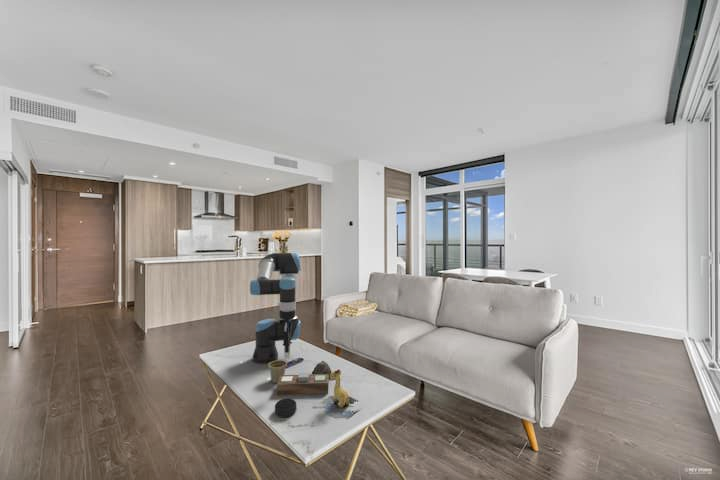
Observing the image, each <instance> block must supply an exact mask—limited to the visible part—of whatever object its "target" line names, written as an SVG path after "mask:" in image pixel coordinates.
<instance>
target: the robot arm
mask: <svg viewBox="0 0 720 480" xmlns="http://www.w3.org/2000/svg"><path fill="white" fill-rule="evenodd" d="M300 271H301V262H300V255H299V254H298V253H296V252H273V253H268V254H267V255H265V256H264V257H262V258H261V259H260V260H259V263H258V272H257V277H256V279H252V280H251V281H250V283H249V292H250V294H251V295H253V296H262V295H264V296H268V295H279V302H278V305H279V318H278V320H277V321H276V319H275V318H266V319H262V320H259V321H258V322H256V324H255V331H254V332H255V346H254V347H255V348H254V351H253V354H252V357H251V358H252V359H251V360H252V362H254V363H256V364H269V363H270V362H272V361H276V360H279V352H278V349H277V344H276V342H281V341H282V343H283V344H282V346H283V348H284V349H283V353H284V355H283V359H284V360H285V359H287V360H288V359H291V344H293V342H292V341H294V340H297V339H299V336H300V329H301V320H300V319H299V317H298V316H297V314H296V313H297V311H296V309H297V303H296V300H297V296H296V294H297V288H296V287H297V282H296V281H297V276H298V275H299V272H300ZM273 272H279V275H280V276H281V278H280V279H272V277H273Z"/></svg>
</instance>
